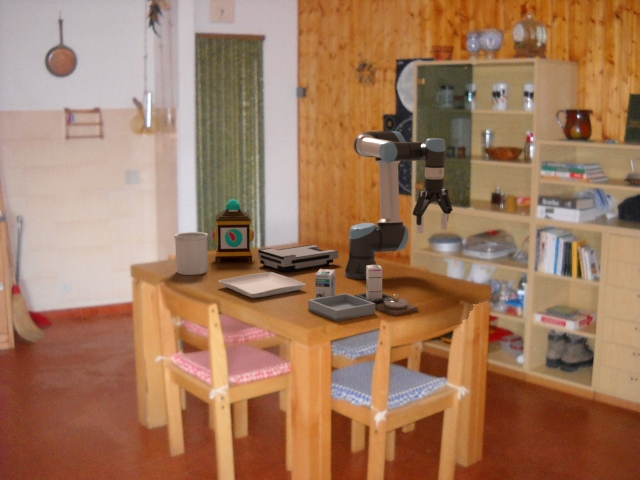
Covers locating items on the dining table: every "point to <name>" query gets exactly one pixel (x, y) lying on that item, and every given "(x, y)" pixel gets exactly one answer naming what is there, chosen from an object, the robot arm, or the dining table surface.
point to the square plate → (262, 284)
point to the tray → (341, 307)
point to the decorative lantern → (233, 232)
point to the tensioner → (390, 304)
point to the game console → (296, 258)
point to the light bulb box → (324, 283)
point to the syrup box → (373, 282)
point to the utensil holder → (191, 253)
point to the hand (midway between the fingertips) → (432, 231)
